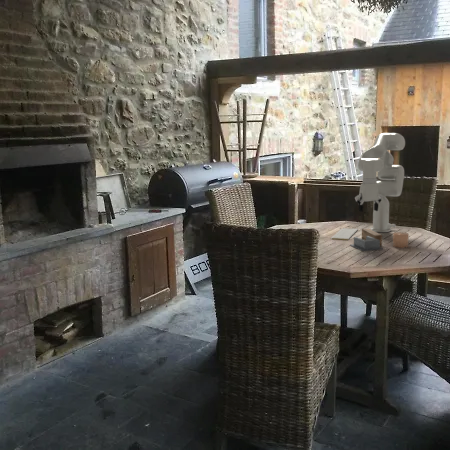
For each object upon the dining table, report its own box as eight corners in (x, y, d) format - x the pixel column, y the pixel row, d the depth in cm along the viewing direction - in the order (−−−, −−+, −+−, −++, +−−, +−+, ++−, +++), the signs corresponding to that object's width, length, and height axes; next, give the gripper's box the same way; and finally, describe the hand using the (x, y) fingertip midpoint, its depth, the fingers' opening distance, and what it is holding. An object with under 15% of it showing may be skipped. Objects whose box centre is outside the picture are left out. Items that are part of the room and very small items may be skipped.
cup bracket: (369, 243, 292) (369, 235, 291) (382, 249, 278) (383, 240, 278) (350, 245, 289) (350, 236, 288) (363, 251, 275) (363, 241, 274)
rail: (368, 238, 307) (368, 228, 306) (381, 245, 288) (382, 235, 286) (361, 238, 307) (361, 228, 306) (374, 246, 287) (375, 235, 286)
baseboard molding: (327, 239, 307) (348, 241, 302) (327, 235, 307) (348, 236, 302) (338, 230, 335) (357, 231, 330) (339, 225, 334) (357, 226, 330)
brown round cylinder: (402, 244, 290) (403, 231, 289) (411, 247, 282) (411, 234, 281) (389, 245, 288) (390, 232, 287) (398, 248, 280) (398, 235, 279)
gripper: (379, 180, 300) (378, 209, 303) (352, 181, 296) (351, 211, 299) (386, 181, 293) (385, 211, 296) (359, 182, 289) (358, 212, 292)
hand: (368, 211), depth 297 cm, fingers open, 9 cm apart
